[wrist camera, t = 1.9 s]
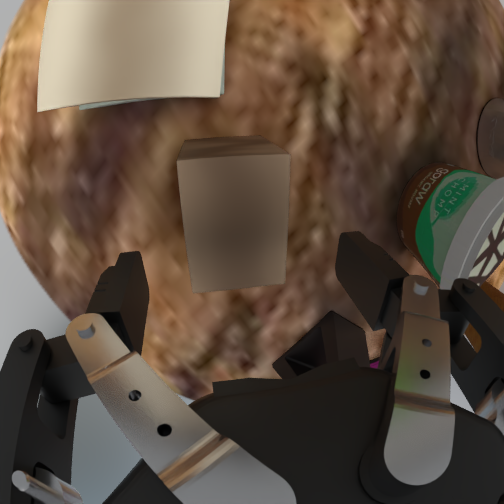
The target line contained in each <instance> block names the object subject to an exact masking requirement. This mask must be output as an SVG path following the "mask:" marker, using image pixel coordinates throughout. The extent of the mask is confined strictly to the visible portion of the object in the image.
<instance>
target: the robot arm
mask: <svg viewBox="0 0 504 504" xmlns="http://www.w3.org/2000/svg"><path fill="white" fill-rule="evenodd" d="M478 153H479V158H480V162H481V165H482V167H483V169H484V171H485V172H486V173H487V174H488V175H489V176H491V177H493V178H495V179H499V178H502V177H504V99H499V98H495V99H492V100H491V101H490V102H488V104H487V105H486V106H485V108H484V110H483V112H482V115H481V118H480V122H479V128H478ZM335 270H336V276H337V278H338V280H339V282H340V283H341V284H342V286H343V287H344V289H345V290H346V292H347V293H348V294H349V296H350V297H351V299H352V300H353V302H354V303H355V305H356V306H357V308H358V309H359V311H360V312H361V313H362V315H363V316H364V318H365V319H366V321H367V322H368V324H369V325H370V327H371V328H372V330H373V331H376V330H380V329H383V328H385V329H386V333H385V336H384V339H383V344H382V349H381V354H380V359H379V363H378V367H377V368H371V367H359V366H358V364H357V362H356V360H355V358H354V357H353V358H349V359H345V360H341V361H336V362H332V363H328V364H323V365H321V366H319V367H317V368H314V369H312V370H310V371H308V372H306V373H303V374H301V375H299V376H297V377H294V378H292V379H263V378H244V379H236V380H228V381H219V382H212V384H213V392H214V393H211V394H208V395H206V396H203V397H201V398H199V399H197V400H196V401H194V402H192V403H191V404H189V405H187V404H186V403H185V402H184V401H182V399H181V398H180V397H179V396H178V395H177V394H176V393H175V392H174V391H173V390H172V389H171V388H170V387H169V386H168V385H167V384H166V383H165V382H164V381H163V380H162V379H161V378H160V377H159V376H158V375H157V374H156V373H155V372H154V370H153V369H152V368H151V367H150V366H149V365H148V364H147V363H146V362H145V360H144V359H143V358H142V357H141V353H142V345H143V337H144V330H145V323H146V317H147V310H148V304H149V287H148V282H147V278H146V274H145V270H144V265H143V261H142V257H141V254H140V252H139V251H134V252H124V253H120V255H119V257H118V260H117V262H116V265H115V266H111V267H108V268H107V269H106V270H105V271H104V272H103V273H102V274H101V276H100V279H99V281H98V285H97V286H96V288H95V292H94V293H93V295H92V298H91V300H90V303H89V305H88V308H87V310H86V313H85V314H84V315H81V316H79V317H77V318H75V319H74V320H73V321H72V322H71V323H70V324H69V325H68V327H67V329H66V334H65V335H62V336H59V337H55V338H52V339H48V340H46V339H45V337H44V336H43V334H42V332H40V331H39V330H36V329H31V330H26V331H24V332H22V333H21V334H19V335H18V336H17V337H16V338H15V339H14V340H13V342H12V344H11V346H10V348H9V351H8V353H7V356H6V358H5V361H4V363H3V366H2V369H1V371H0V504H83V500H82V498H81V496H80V494H79V492H78V491H77V490H76V489H75V488H74V487H73V486H71V466H72V451H73V438H74V429H75V420H76V412H77V405H78V399H79V398H80V397H84V396H88V395H91V394H95V393H96V394H97V396H98V397H99V399H100V400H101V402H102V403H103V405H104V406H105V408H106V409H107V411H108V412H109V414H110V415H111V417H112V418H113V420H114V421H115V422H116V424H117V425H118V427H119V428H120V429H121V431H122V432H123V434H124V435H125V436H126V438H127V439H128V440H129V442H130V443H131V444H132V446H133V447H134V448H135V449H136V451H137V452H138V453H139V454H140V456H141V457H142V458H141V460H140V461H139V462H138V463H137V464H136V466H135V467H134V468H133V469H132V470H131V471H130V473H129V474H128V475H127V476H126V478H124V480H123V481H122V482H121V483H120V484H119V485H118V487H117V488H116V489H115V490H114V491H113V492H112V494H111V495H110V496H109V497H108V498H107V499H106V500H105V501H104V502H103V503H102V504H504V312H503V311H502V310H501V309H500V308H499V306H498V305H497V304H496V303H495V302H494V301H493V300H492V299H491V298H490V297H489V296H488V295H487V294H486V293H485V292H484V291H483V290H482V289H481V288H480V287H479V286H478V285H477V284H476V283H474V282H473V281H471V280H468V279H465V278H457V279H455V280H454V282H453V284H452V287H451V289H450V290H446V289H438V288H437V286H436V285H435V284H434V282H432V281H431V280H429V279H428V278H426V277H423V276H419V275H409V274H408V273H407V272H406V271H405V270H404V269H403V268H402V267H401V266H400V265H399V264H398V263H397V262H396V261H395V260H393V258H392V257H391V256H390V255H388V253H387V252H386V251H385V250H384V249H382V248H381V247H380V246H378V245H376V244H374V243H373V242H370V241H369V240H368V239H367V238H366V237H365V236H364V235H363V234H362V233H361V232H359V231H355V232H343V233H341V235H340V238H339V245H338V252H337V258H336V265H335ZM469 323H470V324H471V325H472V326H473V328H474V329H475V330H476V331H477V332H478V334H479V335H480V337H481V341H482V344H481V348H480V350H479V351H478V353H476V351H475V350H474V349H473V347H472V346H471V345H470V343H469V342H468V341H467V339H466V338H465V337H464V335H463V334H464V333H465V331H466V329H467V327H468V325H469ZM451 374H452V376H453V378H454V379H455V381H456V382H457V384H458V385H459V387H460V389H461V390H462V392H463V394H464V395H465V397H466V399H467V400H468V402H469V404H470V406H471V407H472V409H473V411H474V413H475V414H474V413H472V412H470V411H468V410H466V409H464V408H461V407H459V406H457V405H455V404H452V403H451V402H450V381H451V377H450V375H451ZM39 394H41V395H40V399H39ZM38 399H39V403H38ZM37 403H38V408H37Z"/></svg>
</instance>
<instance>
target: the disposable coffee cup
mask: <svg viewBox="0 0 504 504" xmlns="http://www.w3.org/2000/svg"><path fill="white" fill-rule="evenodd" d="M480 288H481V289H482V290H483V291H484V292H485V293H486V294H487V295H488V296H489V297H490V298H491V299H492V300H493V301H494V302H495V303H496V304H497V305H498V306H499V308H500V309H501V310H502V311H503V312H504V294H503V293H502V292H500V291H499V290H498V289H496V288H495V287H493V286H492V285H490V284H489V283H487V282H486V281H485V282H484V283H483V284H482V285H481V287H480ZM465 335H466V336H467V338H468V340H469V341H470V343H471V344H472V346H473V348H474V350H475V351H476V353H478V351H479V350H480V348H481V344H482V341H481V337H480V335H479V334H478V332H477V331H476V330H475V329H474V328H473V326H472V325H471V324H470V323H469V325H468V327H467V329H466V331H465Z"/></svg>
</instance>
